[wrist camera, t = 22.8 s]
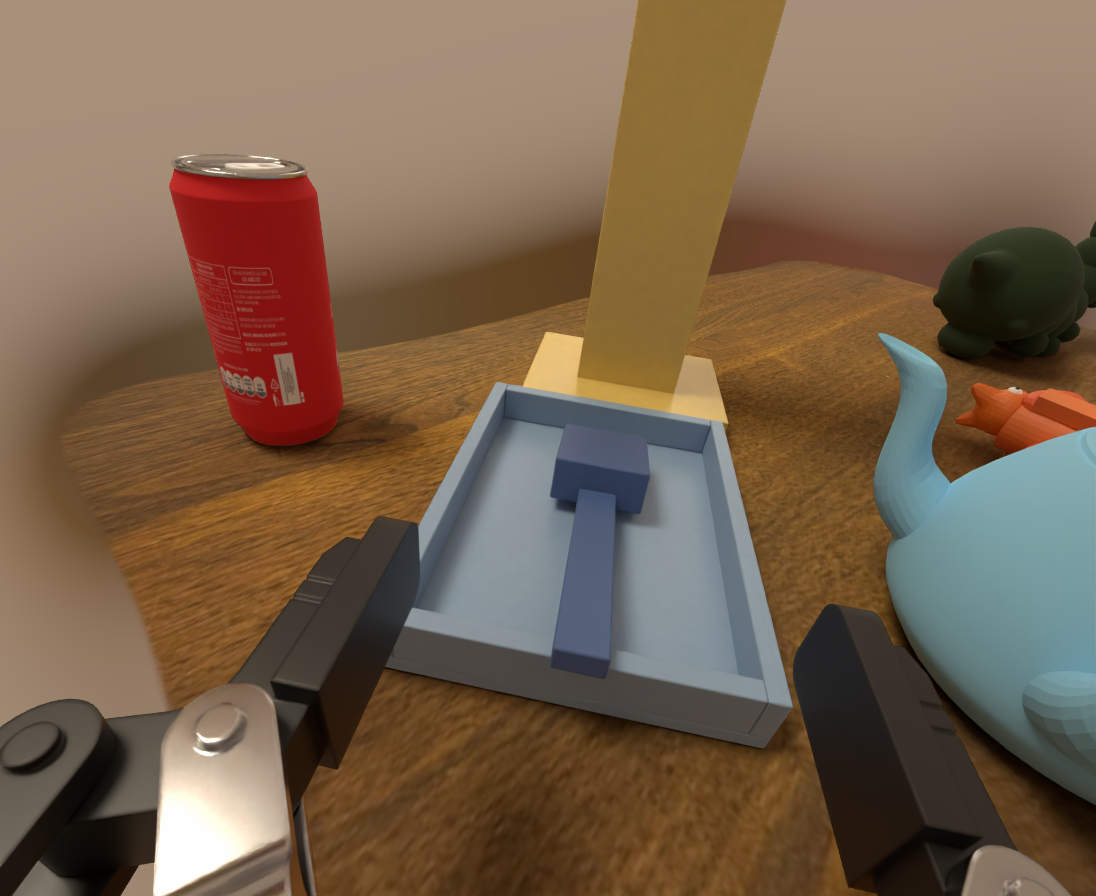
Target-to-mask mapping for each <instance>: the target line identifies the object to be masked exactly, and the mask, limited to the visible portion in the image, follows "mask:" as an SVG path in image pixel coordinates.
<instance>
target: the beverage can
mask: <svg viewBox="0 0 1096 896" xmlns="http://www.w3.org/2000/svg"><path fill="white" fill-rule="evenodd" d="M171 166H172V167H173V168H174V172H173V176H172V179H171V182H170V185H169V188H170V191H171V195H172V199H173V202H174V206H175V209H176V214H177V217H178V221H179V224H180V228H181V232H182V236H183V239H184V243H185V247H186V250H187V254H188V257H189V261H190V265H191V269H192V272H193V276H194V280H195V283H196V287H197V290H198V294H199V298H200V302H201V305H202V309H203V313H204V316H205V320H206V324H207V327H208V331H209V335H210V338H211V342H212V345H213V349H214V353H215V357H216V360H217V364H218V368H219V371H220V375H221V379H222V382H223V386H224V390H225V393H226V397H227V401H228V404H229V408H230V412H231V415H232V417H233V418H234V420H235V421H236V422H237V423H238V424H239V425H240V426H241V427H242V428H243V429H244V430H245V432H246V434H247V435H248V437H249V438H251V439H252V440H254V441H256V442H258V443H261V444H264V445H269V446H279V447H285V446H296V445H302V444H306V443H310V442H313V441H316V440H318V439H320V438H322V437H324V436H326V435H327V434H329V433H330V432H331V431H332V430H333V429H334V428H335V426H336V425H337V421H338V415H339V412H340V410H341V408H342V406H343V394H342V386H341V378H340V370H339V362H338V354H337V347H336V339H335V331H334V323H333V315H332V307H331V299H330V292H329V284H328V276H327V268H326V260H325V252H324V244H323V237H322V229H321V221H320V213H319V205H318V197H317V192H316V190H315V188H314V187H313V185H312V184H311V182H310V180H309V179H308V177H307V175H306V174H307V173H308V170H307V168H306V167H305V166H303V165H301V164H298V163H295V162H291V161H286V160H281V159H274V158H267V157H258V156H247V155H227V154H224V155H223V154H203V155H202V154H200V155H186V156H180V157H176V158H173V159H172V160H171Z"/></svg>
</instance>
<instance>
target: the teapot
mask: <svg viewBox="0 0 1096 896" xmlns="http://www.w3.org/2000/svg"><path fill="white" fill-rule="evenodd" d="M878 337H879V339H880V341H881V342H882V343H883V345H884V346H885V347H886V349H887V351H888V352H889V354H890V356H891V357H892V359H893V361H894V362H895V364H896V366H897V369H898V373H899V378H900V382H901V391H900V402H899V406H898V409H897V413H896V416H895V419H894V422H893V424H892V427H891V429H890V432H889V434H888V436H887V439H886V441H885V443H884V446H883V448H882V451H881V454H880V456H879V459H878V462H877V465H876V470H875V475H874V481H873V483H874V497H875V502H876V505H877V507H878V510H879V513H880V515H881V518H882V520H883V521H884V523H885V524H886V526H887V527H888V528H889V530H890V531H891V533H892V534H893V538H892V540H891V542H890V544H889V546H888V551H887V558H886V566H885V570H886V582H887V585H888V589H889V592H890V596H891V599H892V603H893V606H894V609H895V611H896V614H897V616H898V619H899V621H900V623H901V626H902V628H903V630H904V632H905V634H906V636H907V638H908V641H909V643H910V644H911V646H912V648H913V650H914V651H915V653H916V655H917V657H918V658H919V660H920V661H921V662H922V664H923V665H924V667H925V668H926V670H927V671H928V672H929V674H930V675H931V676H932V678H933V679H934V680H935V681H936V682H937V684H938V685H939V686H940V687H941V688H942V690H943V691H944V692H945V693H946V694H947V695H948V696H949V697H950V698H951V699H952V700H953V701H954V703H955V704H956V705H957V706H958V707H959V708H960V709H961V710H962V711H963V712H964V713H965V714H966V715H967V716H969V717H970V718H971V719H972V720H973V721H974V722H975V723H976V724H977V725H978V726H979V727H981V728H982V729H983V730H984V731H985V732H986V733H987V734H989V735H990V736H991V737H992V738H994V739H995V740H996V741H997V742H999V743H1000V744H1001V745H1002V746H1004V747H1005V748H1006V749H1007V750H1008V751H1010V752H1011V753H1013V754H1014V755H1015V756H1017V757H1018V758H1020V759H1021V760H1022V761H1024V762H1025V763H1027V764H1028V765H1029V766H1031V767H1032V768H1034V769H1035V770H1036V771H1038V772H1039V773H1041V774H1043V775H1044V776H1046V777H1047V778H1049V779H1051V780H1052V781H1054V782H1055V783H1057V784H1059V785H1060V786H1062V787H1063V788H1065V789H1067V790H1068V791H1070V792H1072V793H1074V794H1076V795H1078V796H1080V797H1081V798H1083V799H1085V800H1087V801H1089V802H1091V803H1092V804H1094V805H1096V427H1091V428H1087V429H1084V430H1080V431H1077V432H1073V433H1070V434H1067V435H1063V436H1060V437H1057V438H1053V439H1050V440H1047V441H1045V442H1042V443H1039V444H1037V445H1034V446H1031V447H1029V448H1026V449H1023V450H1020V451H1018V452H1015V453H1013V454H1010V455H1008V456H1005V457H1002V458H1000V459H997V460H995V461H992V462H990V463H988V464H986V465H984V466H981V467H979V468H977V469H975V470H973V471H970V472H969V473H967V474H965V475H964V476H962V477H960V478H959V479H957V480H955V481H954V482H952V483H950V482H949V481H948V480H947V478H946V477H945V476H944V475H943V473H942V472H941V471H940V469H939V468H938V467H937V465H936V464H935V461H934V458H933V455H932V441H933V437H934V434H935V431H936V428H937V426H938V424H939V421H940V419H941V416H942V413H943V411H944V407H945V403H946V399H947V383H946V380H945V376H944V373H943V371H942V369H941V368H940V367H939V366H938V364H937V363H936V362H935V361H934V360H932V359H931V358H930V357H928V356H927V355H925V354H924V353H922V352H921V351H919V350H917V349H916V348H914V347H912V346H910V345H908V344H907V343H905V342H903V341H901V340H899V339H897V338H894V337H892V336H890V335H887V334H884V333H878Z"/></svg>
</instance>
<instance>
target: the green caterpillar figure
mask: <svg viewBox="0 0 1096 896" xmlns="http://www.w3.org/2000/svg"><path fill="white" fill-rule="evenodd" d="M933 303H934V305H935V306H936V307H938V308H940V310H941V312H942V314H943V316H944V317H945V318H946V319H947V321H948V322H949V323H948V324H947V325H945V326H944V327H943V328H942V329H941V330H940V332H939V334H938V342H939V345H940V346H941V347H942V348H944V349H945V350H946V351H947V352H949V353H951V354H953V355H955V356H958V357H960V358H964V359H976V358H980V357H982V356H984V355H986V354H987V353H988V352H989V351H990V350H991V349H992V347H993V345H994V342H996V341H1002V342H1007V343H1011V345H1010V347H1011V349H1012V351H1013V353H1014V354H1015V355H1018V356H1021V357H1023V358H1025V357H1033V356H1037V355H1040V356H1051V355H1053V354H1054V353H1056V352H1057V351H1058V350H1059V347H1060V343H1061V342H1067V341H1071V340H1073V339H1075V338H1076V337H1077V336H1078V335H1079V332H1080V328H1079V326H1078V324H1077V323H1075V322H1076V321H1077V320H1079V319H1080V318H1081V317H1082V316H1083V314H1084V313H1085V311H1086V309H1087V307H1089V308H1095V307H1096V222H1095V223H1094V225H1093V228H1092V230H1091V232H1090V238H1087V239H1085V240H1083V241H1082V242H1080V243H1079V244H1077V245H1076V246H1075V247H1074V246H1073V244H1072V243H1071V242H1070V241H1069V240H1068V239H1066V238H1064V237H1063V236H1061V235H1060V234H1058V233H1056V232H1053V231H1050V230H1047V229H1042V228H1034V227H1018V228H1012V229H1006V230H1003V231H1000V232H996V233H993V234H991V235H988V236H986V237H984V238H982V239H980V240H978V241H976V242H975V243H973V244H972V245H970V246H968V247H967V248H966V249H965V250H963V251H962V252H961V253H960V254H958V256H956V257H955V259H954V260H953V261H952V262H951V263H950V265H949V266H948V267H947V269H946V271H945V273H944V275H943V277H942V279H941V282H940V285H939V290H938V293H937V294H936V295H935V296H934V298H933Z"/></svg>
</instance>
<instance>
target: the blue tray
mask: <svg viewBox="0 0 1096 896" xmlns="http://www.w3.org/2000/svg"><path fill="white" fill-rule="evenodd" d="M567 423H568V424H574V425H579V426H585V427H590V428H596V429H601V430H607V431H612V432H618V433H623V434H629V435H635V436H640V437H645V438H647V447H648V457H649V468H650V479H649V483H648V487H647V491H646V495H645V499H644V503H643V507H642V510H641V513H640V514H635V513H630V512H625V511H619V510H616V518H615V548H614V579H613V609H612V640H611V661H610V665H609V669H608V673H607V677H606V678H605V679H600V678H596V677H591V676H586V675H581V674H577V673H572V672H567V671H562V670H558V669H553V668H551V667H550V665H549V664H550V658H551V653H552V647H553V641H554V635H555V629H556V623H557V617H558V611H559V605H560V599H561V593H562V587H563V581H564V575H565V569H566V563H567V557H568V551H569V545H570V539H571V533H572V527H573V521H574V515H575V509H576V503H577V502H572V501H567V500H561V499H556V498H551V497H550V492H551V485H552V479H553V473H554V467H555V461H556V456H557V453H558V449H559V446H560V442H561V438H562V435H563V431H564V428H565V425H566V424H567ZM418 529H419V552H420V583H419V588H418V593H417V596H416V599H415V602H414V605H413V607H412V609H411V611H410V613H409V616H408V618H407V620H406V622H405V624H404V626H403V629H402V631H401V633H400V635H399V637H398V639H397V642H396V644H395V646H394V648H393V650H392V652H391V655H390V657H389V659H388V661H387V663H386V665H385V667H388V668H392V669H397V670H401V671H406V672H411V673H415V674H420V675H425V676H429V677H434V678H438V679H443V680H448V681H452V682H457V683H462V684H466V685H471V686H475V687H480V688H485V689H489V690H494V691H499V692H503V693H508V694H512V695H517V696H522V697H526V698H531V699H535V700H540V701H545V702H549V703H554V704H559V705H563V706H568V707H572V708H577V709H582V710H586V711H591V712H596V713H600V714H605V715H609V716H614V717H619V718H623V719H628V720H633V721H637V722H642V723H646V724H651V725H656V726H660V727H665V728H670V729H674V730H679V731H683V732H688V733H693V734H697V735H702V736H707V737H711V738H716V739H720V740H725V741H730V742H734V743H739V744H743V745H748V746H753V747H757V748H765V746H766V745H767V744H768V742H769V741H770V738H772V737H773V735H774V734H775V732H776V731H777V730H778V728H779V727H780V725H781V724H782V722H783V721H784V720H785V718H786V717H787V715H788V714H789V713H790V711H791V710H792V708H793V705H792V701H791V696H790V692H789V688H788V684H787V680H786V676H785V672H784V668H783V664H782V660H781V656H780V652H779V648H778V644H777V640H776V636H775V632H774V628H773V624H772V620H771V616H770V611H769V607H768V603H767V599H766V595H765V591H764V587H763V583H762V579H761V575H760V571H759V567H758V563H757V559H756V555H755V551H754V547H753V543H752V539H751V535H750V531H749V526H748V522H747V518H746V514H745V510H744V506H743V502H742V498H741V494H740V490H739V486H738V482H737V478H736V474H735V470H734V466H733V462H732V458H731V454H730V450H729V446H728V442H727V437H726V433H725V429H724V425H723V422H721V421H715V420H709V419H704V418H698V417H692V416H687V415H681V414H675V413H670V412H664V411H658V410H653V409H647V408H641V407H636V406H630V405H624V404H619V403H613V402H607V401H602V400H596V399H590V398H585V397H579V396H573V395H568V394H562V393H556V392H551V391H545V390H539V389H534V388H528V387H523V386H517V385H511V384H509V385H508V384H506V383H500V382H496V383H495V385H494V387H493V389H492V391H491V392H490V394H489V396H488V398H487V400H486V402H485V404H484V405H483V407H482V409H481V411H480V413H479V415H478V417H477V418H476V420H475V422H474V424H473V426H472V428H471V430H470V431H469V433H468V435H467V437H466V439H465V441H464V442H463V444H462V446H461V448H460V450H459V452H458V454H457V455H456V457H455V459H454V461H453V463H452V465H451V467H450V468H449V470H448V472H447V474H446V476H445V478H444V480H443V481H442V483H441V485H440V487H439V489H438V491H437V492H436V494H435V496H434V498H433V500H432V502H431V504H430V505H429V507H428V509H427V511H426V513H425V515H424V517H423V518H422V520H421V522H420V524H419V526H418Z"/></svg>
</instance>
